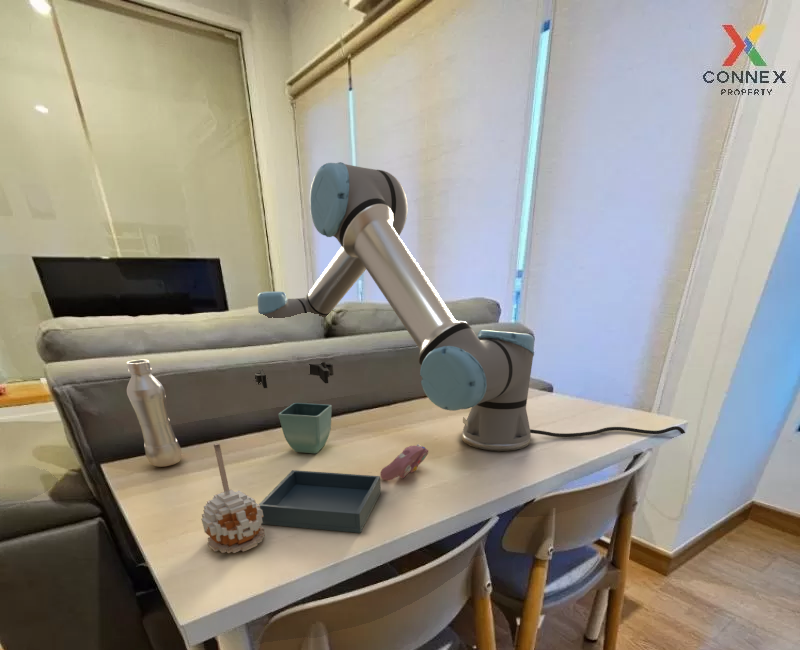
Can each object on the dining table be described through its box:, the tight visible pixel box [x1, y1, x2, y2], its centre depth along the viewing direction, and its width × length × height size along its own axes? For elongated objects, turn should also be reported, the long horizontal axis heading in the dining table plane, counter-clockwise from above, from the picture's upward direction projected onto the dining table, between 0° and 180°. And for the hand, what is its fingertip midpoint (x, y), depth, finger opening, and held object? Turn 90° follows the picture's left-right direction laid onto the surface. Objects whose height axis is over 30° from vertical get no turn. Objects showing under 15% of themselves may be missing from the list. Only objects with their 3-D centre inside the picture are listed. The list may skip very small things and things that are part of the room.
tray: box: [258, 469, 382, 534], centre depth 76 cm, size 16×14×3 cm
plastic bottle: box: [126, 359, 183, 468], centre depth 89 cm, size 6×7×20 cm
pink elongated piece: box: [379, 443, 429, 481], centre depth 87 cm, size 10×5×7 cm, turn 148°
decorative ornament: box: [200, 443, 266, 554], centre depth 64 cm, size 8×8×15 cm
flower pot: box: [277, 402, 333, 454], centre depth 99 cm, size 9×9×9 cm
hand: (296, 379), depth 102 cm, fingers open, 13 cm apart
